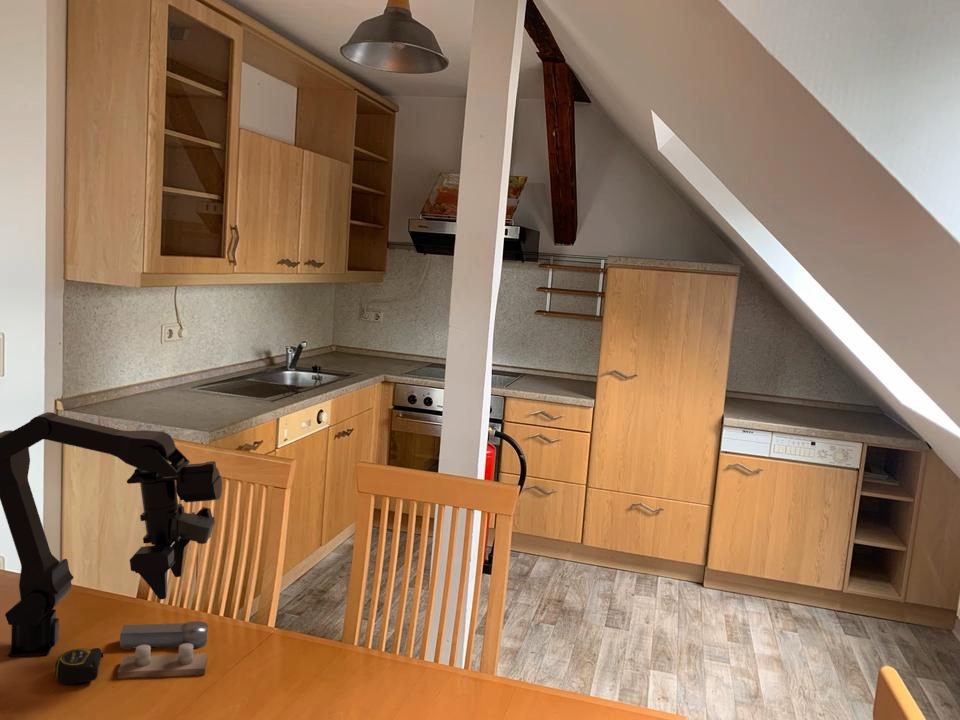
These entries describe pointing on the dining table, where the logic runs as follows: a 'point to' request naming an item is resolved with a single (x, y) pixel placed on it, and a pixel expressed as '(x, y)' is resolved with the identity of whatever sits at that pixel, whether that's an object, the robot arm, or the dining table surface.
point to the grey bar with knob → (164, 635)
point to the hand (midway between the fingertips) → (170, 587)
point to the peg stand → (163, 663)
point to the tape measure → (78, 665)
